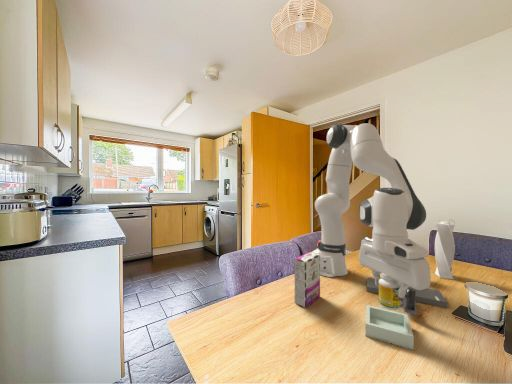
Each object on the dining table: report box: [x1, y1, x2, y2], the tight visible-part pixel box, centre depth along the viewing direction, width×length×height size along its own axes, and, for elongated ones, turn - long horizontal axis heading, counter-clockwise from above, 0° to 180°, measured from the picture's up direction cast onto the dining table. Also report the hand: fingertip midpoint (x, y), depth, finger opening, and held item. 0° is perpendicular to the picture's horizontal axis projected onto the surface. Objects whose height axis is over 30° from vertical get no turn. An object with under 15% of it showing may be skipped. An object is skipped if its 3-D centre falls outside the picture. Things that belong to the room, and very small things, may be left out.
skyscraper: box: [432, 219, 459, 281], centre depth 101 cm, size 8×8×28 cm
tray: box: [365, 304, 415, 351], centre depth 62 cm, size 11×11×4 cm
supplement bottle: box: [378, 273, 401, 311], centre depth 62 cm, size 5×5×10 cm
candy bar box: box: [293, 251, 321, 309], centre depth 79 cm, size 11×5×16 cm, turn 138°
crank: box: [400, 288, 417, 315], centre depth 73 cm, size 14×5×8 cm, turn 152°
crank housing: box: [366, 277, 448, 309], centre depth 82 cm, size 25×17×2 cm
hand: (389, 290), depth 62 cm, fingers closed on supplement bottle, 5 cm apart
